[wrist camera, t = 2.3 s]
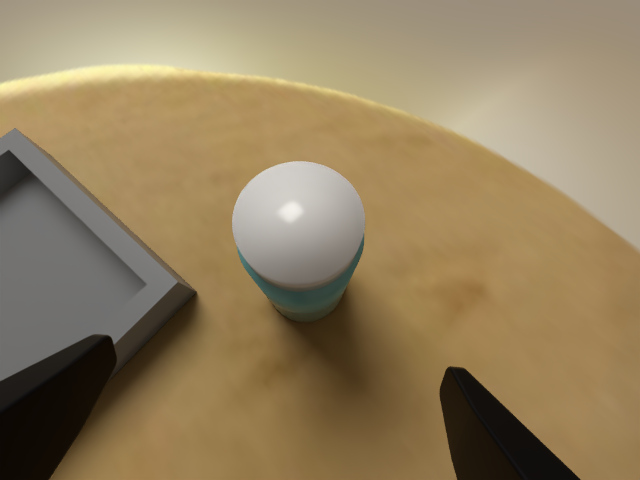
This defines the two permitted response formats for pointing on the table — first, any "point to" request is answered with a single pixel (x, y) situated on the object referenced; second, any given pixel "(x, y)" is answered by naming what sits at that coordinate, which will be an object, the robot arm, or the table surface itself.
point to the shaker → (300, 236)
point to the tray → (71, 266)
